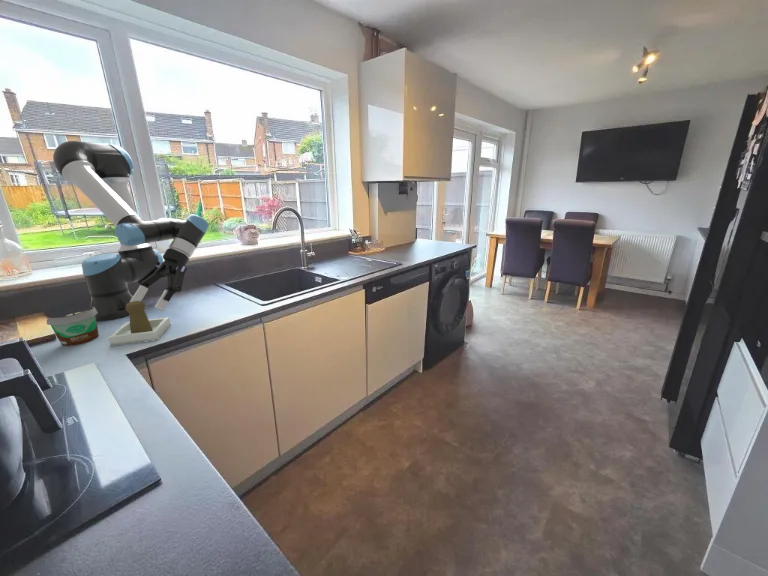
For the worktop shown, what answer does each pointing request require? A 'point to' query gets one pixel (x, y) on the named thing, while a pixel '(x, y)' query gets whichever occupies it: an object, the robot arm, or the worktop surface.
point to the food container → (75, 327)
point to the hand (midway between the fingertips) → (145, 306)
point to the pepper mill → (138, 317)
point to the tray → (126, 337)
